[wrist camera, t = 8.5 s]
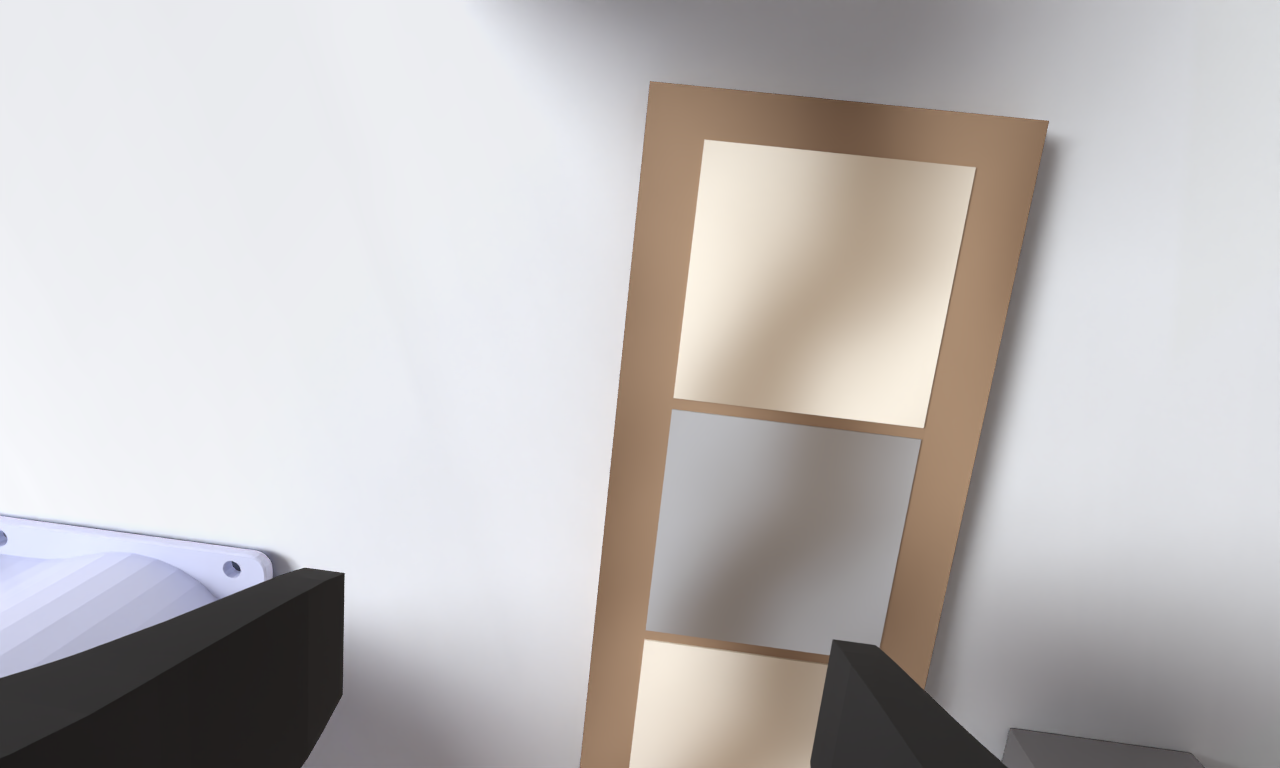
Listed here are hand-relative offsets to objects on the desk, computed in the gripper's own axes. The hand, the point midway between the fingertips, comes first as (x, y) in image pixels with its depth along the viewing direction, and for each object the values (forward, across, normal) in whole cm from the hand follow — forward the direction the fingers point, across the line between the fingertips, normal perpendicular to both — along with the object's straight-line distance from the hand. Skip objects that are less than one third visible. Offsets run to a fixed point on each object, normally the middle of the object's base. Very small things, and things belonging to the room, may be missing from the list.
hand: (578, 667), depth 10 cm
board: (+9, -4, +4) cm, 11 cm away
